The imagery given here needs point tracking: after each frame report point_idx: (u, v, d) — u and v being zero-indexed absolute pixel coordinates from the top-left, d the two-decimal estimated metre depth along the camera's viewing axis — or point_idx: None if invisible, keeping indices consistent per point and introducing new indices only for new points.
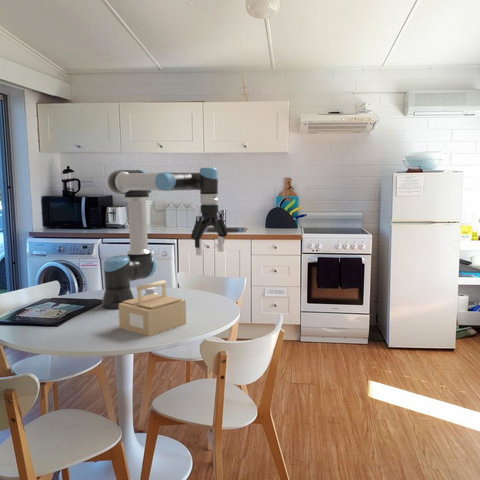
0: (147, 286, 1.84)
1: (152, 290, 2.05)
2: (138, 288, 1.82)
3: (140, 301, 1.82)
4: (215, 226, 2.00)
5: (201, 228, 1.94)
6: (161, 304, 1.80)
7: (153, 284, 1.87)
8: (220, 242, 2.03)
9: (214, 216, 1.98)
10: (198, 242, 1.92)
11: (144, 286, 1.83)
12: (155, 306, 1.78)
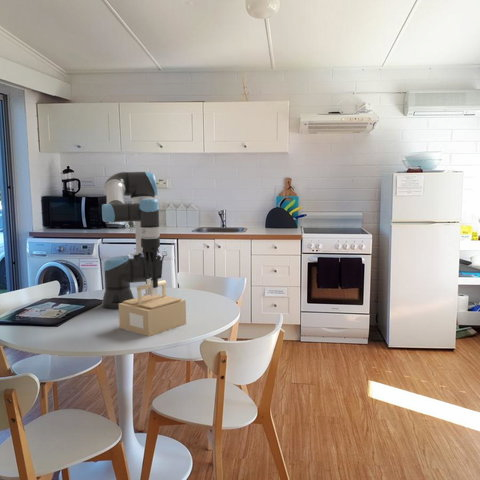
0: (147, 286, 1.84)
1: None
2: (138, 288, 1.82)
3: (140, 301, 1.82)
4: None
5: None
6: (161, 304, 1.80)
7: None
8: None
9: (152, 250, 1.83)
10: (146, 281, 1.88)
11: (144, 286, 1.83)
12: (155, 306, 1.78)
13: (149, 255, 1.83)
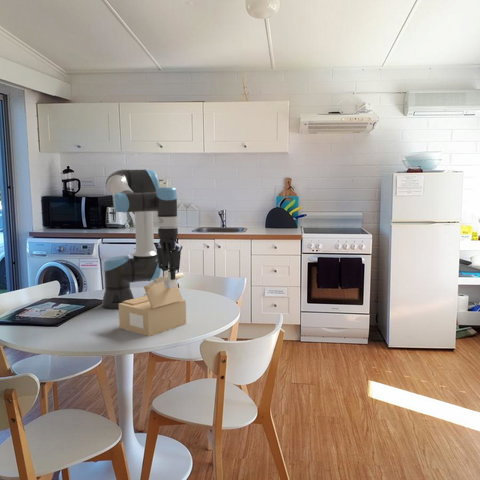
0: (164, 280, 1.78)
1: None
2: (155, 281, 1.75)
3: (149, 287, 1.78)
4: None
5: None
6: (163, 305, 1.80)
7: None
8: None
9: (170, 240, 1.76)
10: (163, 273, 1.81)
11: (162, 281, 1.76)
12: (156, 307, 1.77)
13: (167, 246, 1.76)
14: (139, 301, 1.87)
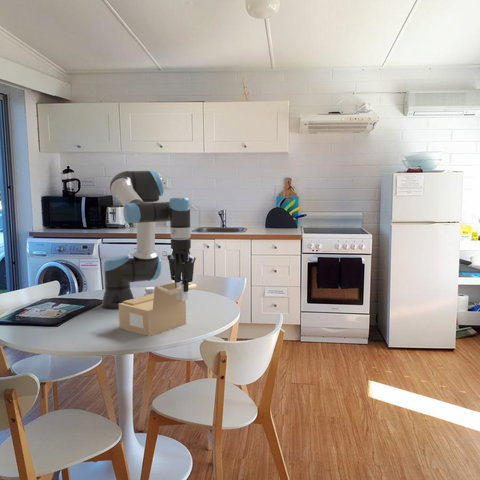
0: None
1: (152, 290, 2.05)
2: (168, 293, 1.71)
3: None
4: None
5: None
6: (163, 306, 1.80)
7: None
8: None
9: (183, 251, 1.72)
10: None
11: (174, 293, 1.73)
12: (157, 308, 1.77)
13: (180, 257, 1.72)
14: (139, 301, 1.87)
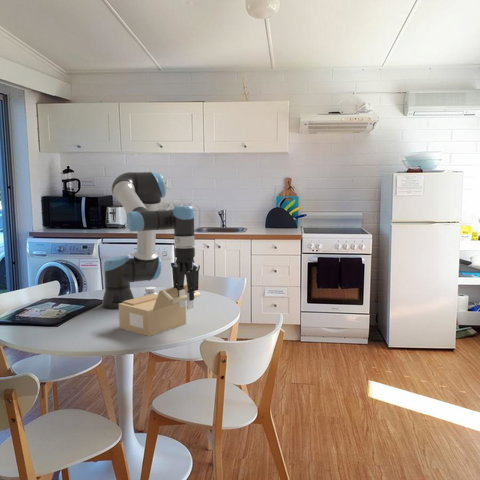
0: None
1: (152, 290, 2.05)
2: (172, 301, 1.70)
3: None
4: None
5: None
6: (164, 307, 1.80)
7: None
8: None
9: (187, 260, 1.71)
10: (178, 292, 1.77)
11: None
12: (157, 309, 1.77)
13: (184, 266, 1.72)
14: (139, 301, 1.87)
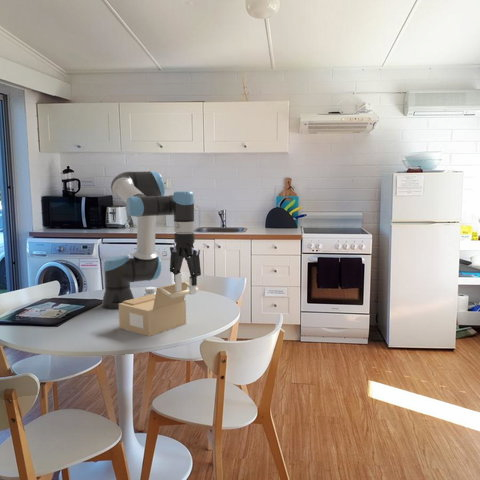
0: None
1: (152, 290, 2.05)
2: (170, 296, 1.71)
3: None
4: None
5: None
6: (164, 306, 1.80)
7: (184, 294, 1.76)
8: None
9: (186, 246, 1.71)
10: (175, 276, 1.77)
11: (175, 297, 1.72)
12: None
13: (183, 251, 1.71)
14: (139, 301, 1.87)
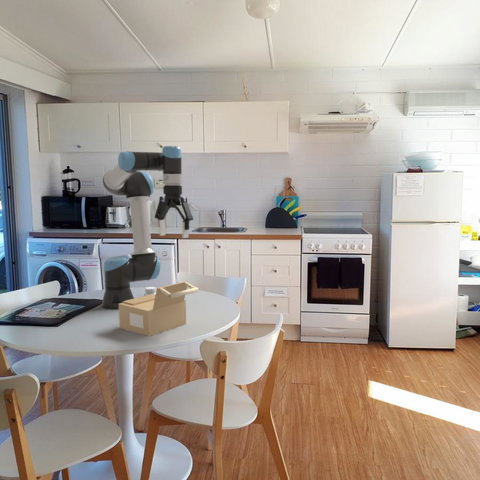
0: None
1: (152, 290, 2.05)
2: (170, 296, 1.71)
3: None
4: None
5: None
6: (164, 306, 1.80)
7: (184, 294, 1.76)
8: None
9: (174, 198, 1.86)
10: None
11: (175, 297, 1.72)
12: None
13: (172, 201, 1.86)
14: (139, 301, 1.87)
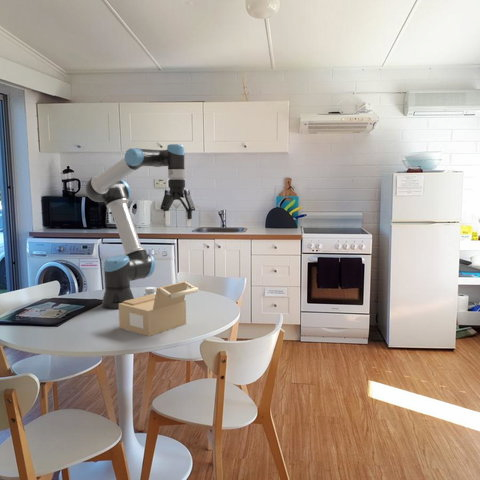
0: None
1: (152, 290, 2.05)
2: (170, 296, 1.71)
3: None
4: None
5: None
6: (164, 306, 1.80)
7: (184, 294, 1.76)
8: None
9: (178, 191, 2.08)
10: (164, 213, 2.15)
11: (175, 297, 1.72)
12: None
13: (176, 194, 2.07)
14: (139, 301, 1.87)
